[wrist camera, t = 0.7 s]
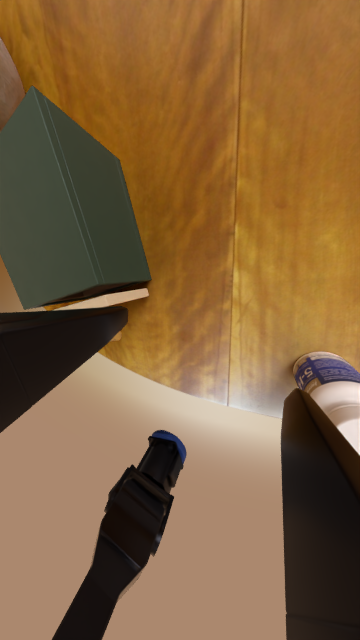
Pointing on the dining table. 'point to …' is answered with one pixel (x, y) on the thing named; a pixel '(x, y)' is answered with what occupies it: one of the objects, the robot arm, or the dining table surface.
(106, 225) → the cabinet
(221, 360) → the dining table surface
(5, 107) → the decorative sphere
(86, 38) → the dining table surface
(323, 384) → the pill bottle
